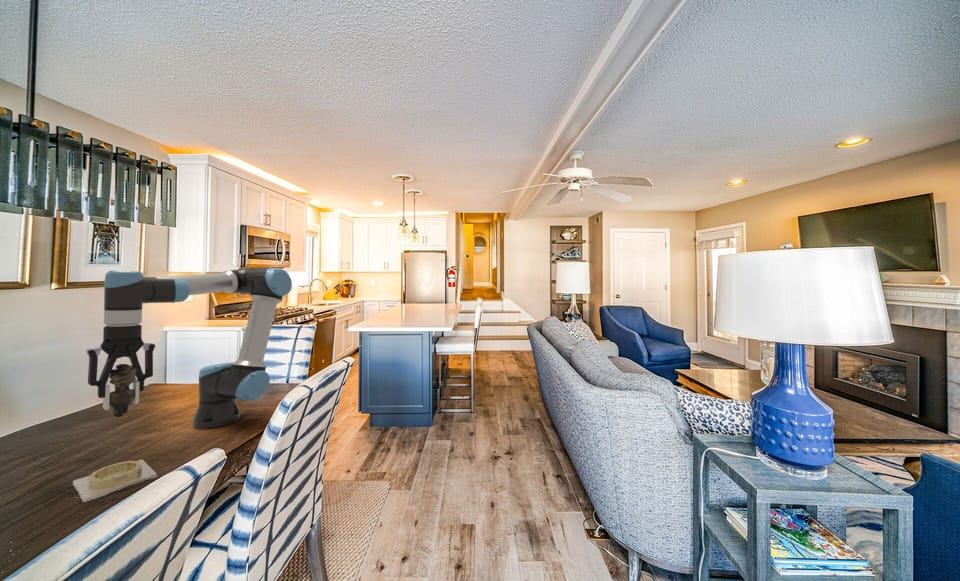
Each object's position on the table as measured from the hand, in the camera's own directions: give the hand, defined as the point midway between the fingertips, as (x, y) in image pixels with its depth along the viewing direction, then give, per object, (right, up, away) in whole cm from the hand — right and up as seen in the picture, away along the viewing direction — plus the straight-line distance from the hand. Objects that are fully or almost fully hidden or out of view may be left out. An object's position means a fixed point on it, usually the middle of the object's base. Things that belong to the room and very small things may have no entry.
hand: (121, 405), depth 97 cm
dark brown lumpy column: (0, -3, 0) cm, 3 cm away
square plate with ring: (-1, -21, -1) cm, 21 cm away
